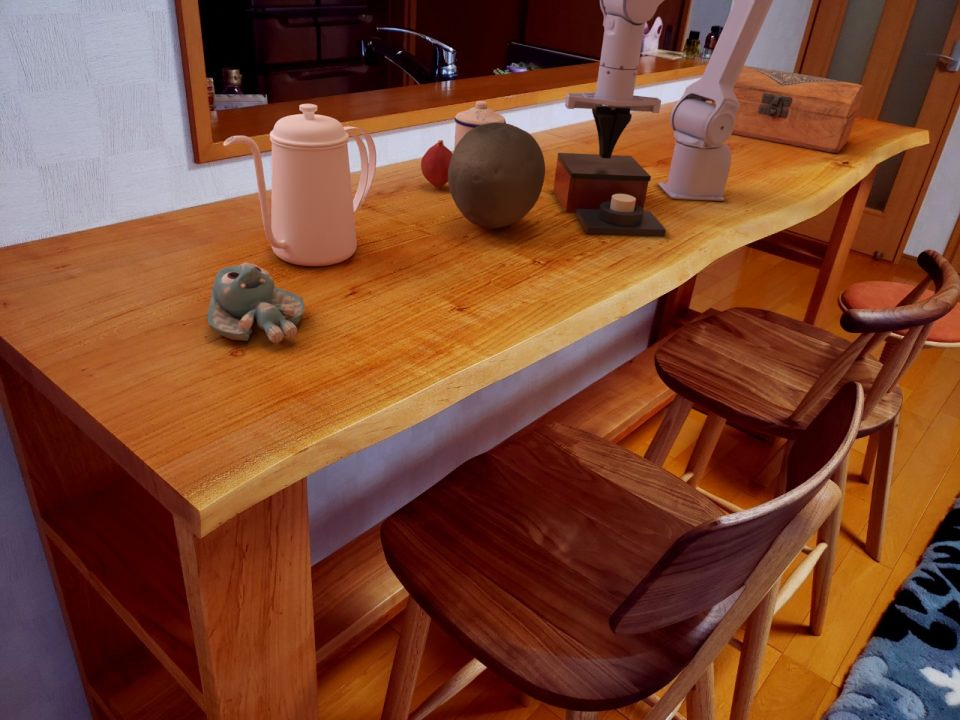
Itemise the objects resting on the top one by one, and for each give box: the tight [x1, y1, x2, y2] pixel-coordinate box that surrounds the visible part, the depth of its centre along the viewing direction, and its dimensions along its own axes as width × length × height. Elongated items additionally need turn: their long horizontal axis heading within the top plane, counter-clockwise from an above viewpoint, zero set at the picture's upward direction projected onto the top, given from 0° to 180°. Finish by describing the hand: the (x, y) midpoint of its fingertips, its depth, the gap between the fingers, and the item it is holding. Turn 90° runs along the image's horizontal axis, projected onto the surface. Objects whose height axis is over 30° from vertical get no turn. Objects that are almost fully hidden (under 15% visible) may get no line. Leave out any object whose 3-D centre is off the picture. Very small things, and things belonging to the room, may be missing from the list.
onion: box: [420, 139, 453, 189], centre depth 123 cm, size 6×6×8 cm
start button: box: [610, 194, 636, 213], centre depth 113 cm, size 4×4×2 cm
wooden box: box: [711, 65, 865, 154], centre depth 172 cm, size 30×16×14 cm, turn 58°
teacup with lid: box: [453, 100, 507, 150], centre depth 134 cm, size 12×9×12 cm
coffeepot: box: [223, 103, 377, 267], centre depth 93 cm, size 11×25×19 cm, turn 148°
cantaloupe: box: [447, 122, 546, 230], centre depth 107 cm, size 14×14×15 cm
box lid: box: [557, 152, 652, 182], centre depth 120 cm, size 11×13×1 cm
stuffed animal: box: [206, 261, 306, 344], centre depth 79 cm, size 11×7×12 cm
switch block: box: [574, 201, 667, 238], centre depth 114 cm, size 12×8×3 cm, turn 96°
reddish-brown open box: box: [552, 157, 650, 214], centre depth 122 cm, size 11×13×6 cm
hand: (604, 156), depth 119 cm, fingers closed
